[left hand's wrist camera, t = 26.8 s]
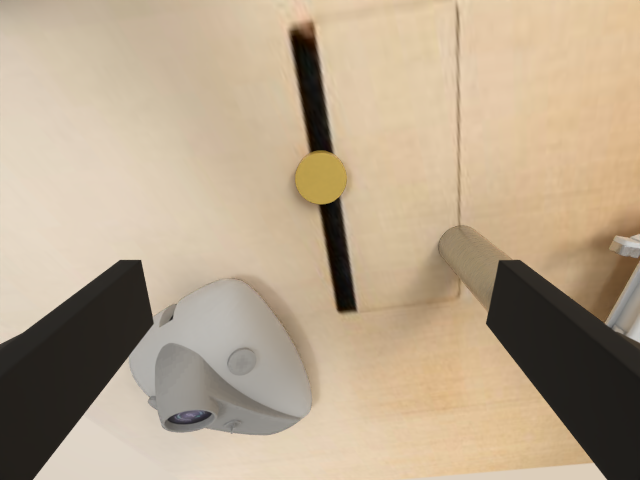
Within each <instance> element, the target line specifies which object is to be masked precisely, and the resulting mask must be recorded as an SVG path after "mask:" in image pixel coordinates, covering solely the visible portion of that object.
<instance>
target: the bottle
mask: <svg viewBox="0 0 640 480" xmlns="http://www.w3.org/2000/svg"><path fill="white" fill-rule="evenodd" d="M439 252H440V254H441V256H442V258H443V259H444V260H445V261H446V262H447V264H448V265H449V266H450V267H451V268H452V270H453V271H454V272H455V273H456V274H457V276H458V277H459V278H460V279H461V280H462V282H463V283H464V284H465V285H466V286H467V288H468V289H469V290H470V291H471V292H472V294H473V295H474V296H475V297H476V298H477V300H478V301H479V302H480V303H481V304H482V306H483V307H484V308H485V309H486V310H487V312H489V307H490V302H491V297H492V292H493V287H494V282H495V277H496V272H497V267H498V262H499V260H512V259H511V258H510V257H509V256H507V255H506V254H505V253H503V252H502V251H501V250H500V249H498V248H497V247H496V246H494V245H493V244H492V243H491V242H489V241H488V240H487V239H485V238H484V237H483V236H481V235H480V234H479V233H478V232H476V231H475V230H474V229H472V228H470V227H468V226H456V227H453V228H451V229H449V230H448V231H447V232H445V233H444V235H443V236H442V237H441V239H440V242H439Z"/></svg>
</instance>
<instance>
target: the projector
mask: <svg viewBox="0 0 640 480" xmlns="http://www.w3.org/2000/svg"><path fill="white" fill-rule="evenodd" d="M153 321H154V324H153V326H152V327H151V328H150V330H149V331H148V332H147V333H146V335H145V336H144V337H143V339H142V340H141V341H140V342H139V344H138V345H137V346H136V348H135V349H134V350H133V351H132V353H131V354H130V355H129V365H130V370H131V372H132V375H133V377H134V379H135V381H136V382H137V384H138V386H139V387H140V388H141V389H142V390H143V391H144V392H145V393H146V394H147V395H148V396H149V397H150V399H149V400H148V403H149V404H150V405H151V406H152V407H153V408H155V409H156V410H158V414H159V418H160V421H161V425H162V427H163V428H164V429H166V430H168V431H171V432H191V431H196V430H200V429H203V428H208V429H213V430H219V431H224V432H231V434H232V433H238V434H249V435H271V434H275V433H278V432H281V431H283V430H285V429H287V428H289V427H291V426H293V425H294V424H296V423H297V422H298V421H300V420H301V419H302V418H304V417H305V416H306V415H307V414H308V413H309V412H310V410H311V405H312V392H311V386H310V383H309V379H308V376H307V373H306V370H305V367H304V365H303V362H302V360H301V358H300V356H299V353H298V351H297V349H296V347H295V345H294V344H293V342H292V340H291V338H290V337H289V335H288V333H287V332H286V330H285V329H284V327H283V326H282V324H281V323H280V321H279V320H278V318H277V317H276V315H275V314H274V313H273V311H272V310H271V309H270V307H269V306H268V305H267V304H266V302H265V301H264V300H263V299H262V298H261V296H260V295H259V294H258V293H257V292H256V291H255V290H254V289H253V288H252V287H251V286H249V285H248V284H247V283H245V282H243V281H241V280H238V279H221V280H217V281H215V282H212V283H210V284H207V285H205V286H203V287H201V288H199V289H197V290H196V291H194V292H192V293H190V294H189V295H187V296H185V297H184V298H182V299H181V300H180V301H179V302H178V304H173V305H170V306H169V307H167V308H165V309H164V310H162V311H161V312H159V313H158V314H156V315H155V316H154V317H153Z"/></svg>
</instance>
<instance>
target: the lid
mask: <svg viewBox="0 0 640 480" xmlns="http://www.w3.org/2000/svg"><path fill="white" fill-rule="evenodd" d="M346 181H347V176H346V171H345V168H344V166H343V164H342V162H341V161H340V159H339V158H338V157H337V156H335V155H334V154H332V153H330V152H327V151H315V152H312V153H309V154H308V155H306V156H305V157H304V158H303V159H302V160H301V162H300V163H299V165H298V168H297V171H296V175H295V183H296V187H297V189H298V191H299V193H300V194H301V195H302V197H303V198H305V199H306V200H307V201H309V202H312V203H315V204H327V203H330V202H333V201H334V200H336V199H337V198H338V197H339V196H340V195H341V194H342V193H343V191H344V189H345V186H346Z"/></svg>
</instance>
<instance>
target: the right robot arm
mask: <svg viewBox="0 0 640 480" xmlns="http://www.w3.org/2000/svg"><path fill="white" fill-rule="evenodd" d="M609 250H611V251H615V253H617V254H620V255H623V256H630V257H633V258H638V257H639V256H640V234H637V235H634V236H631V237H630V238H628V237H622V236H615V237H614V240H613V241H612V243H611V245H610V248H609ZM605 324H606V325H607V326H609V327H610V328H611V329H613V330H614V331H615V332H619V333H621V334H623V335H625V336H627V337H629V338H631V339H633V340H635V341H637V342H639V343H640V261H639V263H638V265H637V266H636V268H635V270H634V272H633V273H632V275H631V277H630V279H629V281H628V282H627V284H626V286H625V288H624V289H623V291H622V293H621V295H620V297H619V298H618V300H617V302H616V304H615V306H614V307H613V309H612V311H611V313H610V314H609V316H608V318H607V320H606V322H605Z"/></svg>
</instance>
